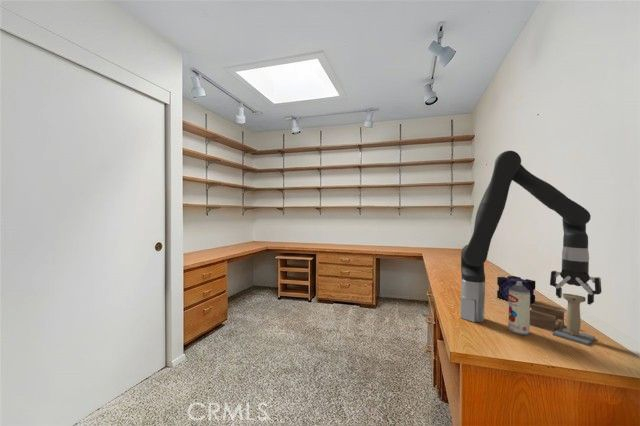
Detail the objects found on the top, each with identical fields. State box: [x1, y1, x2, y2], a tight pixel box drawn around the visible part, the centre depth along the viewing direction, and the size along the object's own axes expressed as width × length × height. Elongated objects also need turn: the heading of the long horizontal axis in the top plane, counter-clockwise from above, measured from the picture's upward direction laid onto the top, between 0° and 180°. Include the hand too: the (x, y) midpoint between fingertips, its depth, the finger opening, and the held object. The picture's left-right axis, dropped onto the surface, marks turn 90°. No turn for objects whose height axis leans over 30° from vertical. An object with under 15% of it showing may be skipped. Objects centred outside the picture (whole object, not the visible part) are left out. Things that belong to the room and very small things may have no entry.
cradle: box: [530, 303, 565, 333], centre depth 115 cm, size 12×11×6 cm
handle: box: [562, 293, 587, 336], centre depth 103 cm, size 5×6×15 cm
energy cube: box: [496, 275, 536, 305], centre depth 146 cm, size 12×12×12 cm
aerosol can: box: [507, 281, 531, 336], centre depth 107 cm, size 7×7×20 cm
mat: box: [552, 326, 596, 346], centre depth 103 cm, size 10×10×1 cm
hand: (574, 300), depth 103 cm, fingers open, 8 cm apart
